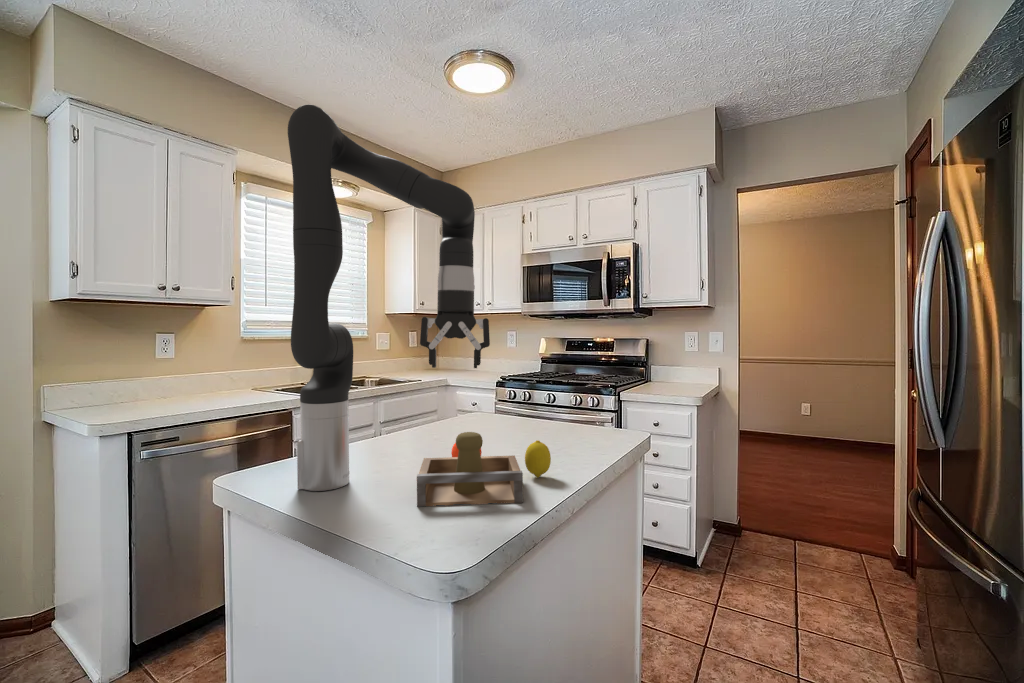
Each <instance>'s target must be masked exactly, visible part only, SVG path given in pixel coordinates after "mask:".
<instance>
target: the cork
mask: <svg viewBox="0 0 1024 683" xmlns="http://www.w3.org/2000/svg"><path fill="white" fill-rule="evenodd" d="M455 442H456V446H457V448H458V450H459V452H458V460H457V468H456V473H463V472H483V470H482V463H481V456H482V455H481V456H480V448H481V449H482V446H483V444H484V443H483V442H484V441H483V436H482V435H481V434H480V433H478V432H475V431H464V432H461V433H459V434H458V435H457V436H456V438H455ZM484 490H485V485H484V482H462V483H455V484H454V491H455V492H457V493H460V494H476V493H480V492H482V491H484Z"/></svg>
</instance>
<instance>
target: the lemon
mask: <svg viewBox="0 0 1024 683" xmlns="http://www.w3.org/2000/svg"><path fill="white" fill-rule="evenodd" d="M524 453H525V454H524V463H525V466H526V469H527V471H528V472H529V473H530V474H532V475H533V476H535V478H540V477H541V476H542V475H544V474H546V473H547V472H548V470H549V469H550V466H551V463H552V461H551V460H552V459H551V452H550V449H549V447H548V446H547V445H546V444H545V443H543V442H541V441H540V440H539V439H538V440H536V441H534V442H531V443H530V444H529V445H528V446H527V448H526V450H525V452H524Z"/></svg>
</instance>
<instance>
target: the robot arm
mask: <svg viewBox="0 0 1024 683" xmlns="http://www.w3.org/2000/svg"><path fill="white" fill-rule="evenodd" d="M287 138H288V139H287V140H288V146H289V147H288V148H289V153H290V154H289V155H290V161H291V169H292V213H293V217H292V219H293V220H292V223H293V224H292V240H293V242H292V244H293V261H294V262H293V264H294V266H293V268H294V269H293V271H294V272H293V273H294V274H293V278H294V279H293V280H294V281H293V283H294V284H293V289H294V293H293V294H294V295H293V307H292V308H293V309H292V319H291V331H290V349H291V353H292V356H293V358H294V360H295V362H296V363H297V364H298V365H299V366H300V367H302V368H304V369H308V370H312V371H313V372H312V376H311V378H310V379H309V380H308V382H307V383H306V384H305V385H303V386H302V387H301V389H300V392H299V405H300V407H299V410H300V421H299V422H300V439H299V440H298V441H296V455H297V456H296V459H297V460H296V461H297V462H296V464H297V466H296V468H297V490H306V491H311V492H321V491H331V490H335V489H339V488H342V487H344V486H347V485H348V484H350V433H349V432H350V426H349V424H350V421H349V420H350V419H349V416H350V415H349V393H350V390H351V387H352V384H353V377H354V374H353V373H354V372H353V371H354V370H353V369H354V344H353V342H354V341H353V338H352V335H351V333H350V331H349V329H348V328H347V327H345V326H344V325H342V324H341V323H337V322H329V296H330V291H331V289H332V286H333V284H334V281H335V279H336V278H337V276H338V273H339V270H340V268H341V264H342V261H343V252H344V251H343V250H344V249H343V248H344V247H343V246H344V245H343V224H342V219H341V213H340V210H339V206H338V202H337V198H336V195H335V190H334V186H333V181H332V180H333V179H332V169H333V170H336V171H339V172H342V173H345V174H348V175H350V176H353V177H355V178H357V179H360V180H361V181H364V182H366V183H368V184H369V185H371V186H374V187H375V188H378V189H379V190H381V191H383V192H385V193H386V194H389V195H391V196H392V197H393V198H396V199H398V200H400V201H401V202H404V203H405V204H407V205H410V206H411V207H414V208H417V209H420V210H421V209H424V210H426V211H428V212H429V213H432V214H434V215H436V216H438V217H440V218H441V239H442V240H441V241H440V245H439V253H438V254H439V255H438V256H439V263H438V264H439V267H438V274H437V275H438V276H437V307H436V308H437V313H436V314H437V315H436V317H435V318H434V317H433V318H432V317H427V316H424V317H421V321H420V322H421V325H420V326H421V327H420V336H419V337H420V339H419V345H420V346H422V347H424V348H426V349H427V350H428V363H429V365H431V368H433V369H434V368H435V369H436V368H437V349H436V347H437V346H438V345H439V343H440V342H441V341H442V340H443V338H446V339H454V338H457V339H463V340H464V339H466V338H467V339H468V341H469V342H470V343H471V345H472V346H473V347H474V350H473V369H478V366H480V365H481V361H482V360H481V358H482V357H481V356H482V354H481V353H482V349H483V350H484V349H485V348H488V347H490V345H491V342H490V341H491V340H490V321H489V319H488V318H487V317H485V318H478V319H477V318H475V274H474V244H473V241H474V232H475V231H474V230H475V217H476V216H475V215H476V214H475V208H474V207H475V205H474V201H473V199H472V197H471V195H470V194H469V193H468V192H466V191H465V190H464V189H462V188H460V187H458V186H456V185H455V184H452V183H449V182H446V181H444V180H441V179H438V178H434V177H432V176H429V175H428V174H427V173H425V172H423V171H421V170H419V169H417V168H415V167H413V166H412V165H410V164H407V163H405V162H403V161H400V160H398V159H396V158H392V157H389V156H386V155H382V154H378V153H376V152H373V151H371V150H368V149H366V148H365V147H363V146H362V145H360V144H358V143H357V142H355V141H354V140H353V139H352V138H350V137H348V135H346V134H345V133H343V131H342V130H341V129H340V127H339V126H338V124H337V123H336V122H335V120H334V118H332V117H331V116H330V114H328V113H327V112H326V111H325V110H324V109H323V108H321V107H319V106H317V105H316V104H315V105H314V104H310V103H309V104H303V105H300V106H299V107H297V108H296V109H295V110H294V111H293V112H292V114H291V116H290V117H289V120H288V123H287ZM433 324H435V325H436V327H437V328H438V330H439V332H437V334H436V335H435V337H434V338H433V339H432V341H429V340H428V334H429V329H431V328H432V326H433ZM476 324H477V325H478V327H479V329H481V330H482V334H483V335H482V336H483V341H482V342H479V341H478V340H477V338H476V337H475V336H474V334H473V333H472V332H471V331H472V330H473V329H474V328H475V326H476Z"/></svg>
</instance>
